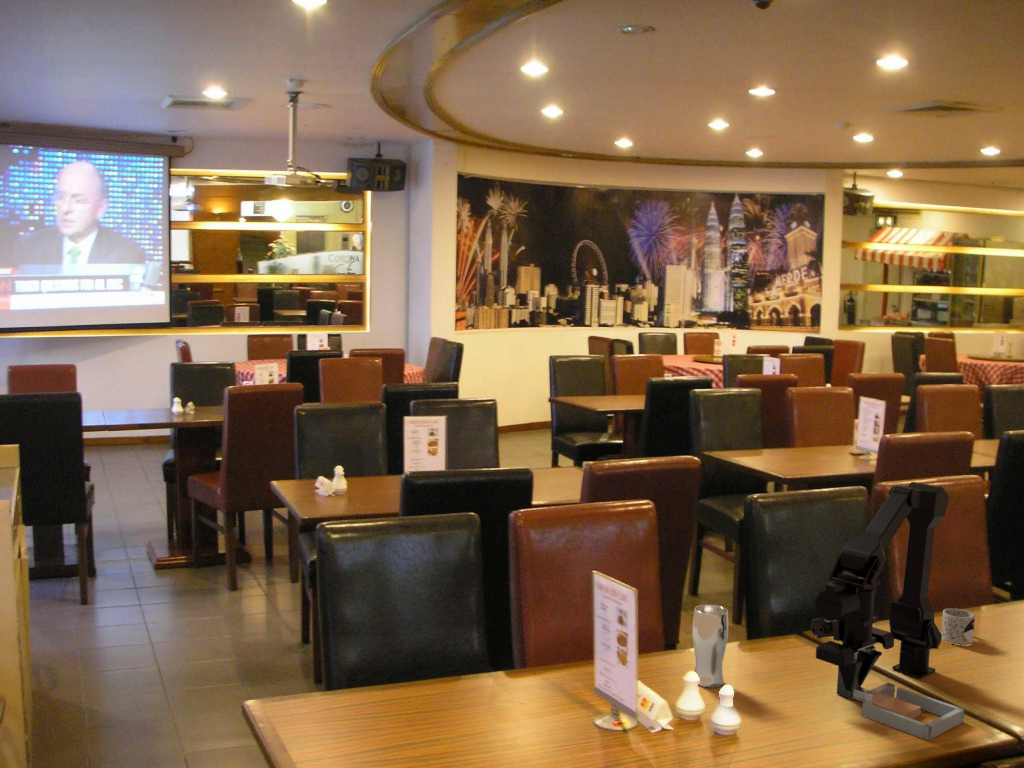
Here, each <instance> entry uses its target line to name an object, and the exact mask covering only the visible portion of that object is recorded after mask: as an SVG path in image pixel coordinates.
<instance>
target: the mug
mask: <svg viewBox="0 0 1024 768" xmlns="http://www.w3.org/2000/svg"><path fill="white" fill-rule="evenodd" d="M975 616H976V615H975V613H973V612H972V611H969V610H966V609H960V608H945V609H943V610H942V621H941V622H942V623H941V635H942V639H943V640H945V641H948V642H951V643H953V644H960V645H966V644H967V645H968V644H972V643H973V644H974V632H975V631H974V630H975V618H976V617H975Z"/></svg>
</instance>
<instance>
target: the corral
mask: <svg viewBox="0 0 1024 768" xmlns="http://www.w3.org/2000/svg"><path fill="white" fill-rule="evenodd" d="M895 694H896V695H895V696H896V697H895V698H897V699H900V700H903V701H905V702H908V703H911V704H914V705H917V706H920V707H921V711H922V710H923V711H926V712H929V713H931V714H934V715H936V716H940V717H937V718H935V719H934V720H932V721H930V722H928V723H924V722H921V721H919V720H916V719H915V718H913V719H911V718H908V717H905V716H903V715H900V714H897V713H894V712H892V711H889V710H886V709H883V708H881V707H878V706H875V705H872V704H869V703H867V702H865V703H863V702H862V713H861V714H862V715H861V716H862V717H864V716H865V718H866V719H869V720H872V721H875V722H878V723H881V724H882V725H886V726H888V727H891V728H894V729H896V730H899V731H902V732H904V733H907V734H910V735H913V736H914V737H917V738H920V739H923V740H926V741H930V740H932V739H934V738H936V737H937V736H939V735H942V734H943V733H945V732H947V731H949V730H952V729H953V728H955V727H956V726H959V725H960V724H962V723H964V722H965V710H966V709H965V708H963V707H960V706H956V705H954V704H953V705H952V704H950V703H947V702H944V701H941V700H938V699H936V698H932V697H930V696H927V695H924V694H920V693H917V692H915V691H912V690H909V689H905V688H903V687H897V688H896V692H895Z"/></svg>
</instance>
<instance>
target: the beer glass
mask: <svg viewBox="0 0 1024 768" xmlns="http://www.w3.org/2000/svg"><path fill="white" fill-rule="evenodd" d="M728 614H729V611H728V609H727V608H726V607H723V606H720V605H717V604H716V605H714V604H700V605H696V606H695V607H694V613H693V619H692V620H693V621H692V622H693V623H692V641H693V643H692V644H693V650H694V656H695V657H694V659H695V667H694V672H696V673H697V674H698V676H699V678H700V684H699V685H700V686H699V687H701V686H702V688H706V687H708V688H709V689H714V688H715V689H717V688H720V687H722V686H723V685H724V684H725V682H724V676H723V662H724V656H725V654H726V648H727V644H728V638H729V615H728ZM708 688H707V689H708Z"/></svg>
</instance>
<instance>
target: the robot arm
mask: <svg viewBox="0 0 1024 768" xmlns="http://www.w3.org/2000/svg"><path fill="white" fill-rule="evenodd" d="M949 502H950V497H949V494H948V492H946V489H945V487H943V486H942V485H941V486H939V485H934V484H929V483H923V482H916V481H911V482H910V483H909V484H908V485H900V484H898V485H893V486H892V487H890V489H889V492H888V497H887V498H886V500H885V501H884V502H883V504H882V506H880V509H879V510H878V511H877V512H876V514H875V516H874V518H872V519H871V521H870V523H869V525H868V526H867V527H866V529H865V531H864V532H862V533H861V534H859V535H857V536H855V537H853V538H851V539H850V540H849V541H848V542H847V543H846V544H845V545H844V546H843V548H842V549H841V551H839V553H838V556H837V558H836V560H835V562H834V564H833V567H832V569H831V573H830V574H829V577H828V580H829V581H831V582H828V583H826V585H825V590H822V591H820V592H819V594H818V595H817V596H816V599H815V609H816V611H817V613H818V614H819V616H820V618H819V617H816V618H814V619H812V620H811V625H810V629H809V630H810V632H811V633H812V635H813V636H816V639H817V640H818V639H819V640H820V639H822V638H830V637H832V638H833V641H831V640H829V641H826V642H823V643H820V644H818V645H817V647H816V646H815V659H817V660H819V661H823V662H826V663H829V664H831V665H834V666H837V667H839V669H840V672H841V676H842V679H843V683H844V686H845V689H846V690H848V691H851V690H852V688H853V686H854V683H855V681H856V678H857V675H858V672H859V670H860V667H861V671H860V685H859V686H860V687H862V685H863V683H864V682H865V680H866V679H867V677H868V675H869V673H870V672H871V670H872V669H873V667H874V665H875V664H876V662H877V661H878V660H879V658H880V656H882V655H883V653H882V651H879V650H877V649H876V648H877V647H876V646H875V645H876V644H877V643H878V644H881V646H882V648H883V649H884V650H889V649H892V648H894V646H895V640H898V641H900V646H899V647H900V648H899V661H898V663H897V664H895V665H892V666H891V667H892V668H891V669H892V670H894V671H898V672H901V673H903V674H906V675H909V676H912V677H916V678H919V679H921V678H924V677H926V676H929V675H930V674H933V673H935V672H936V668H934V667H931V666H930V654H931V653H930V652H931V651H930V650H934V649H935V650H938V649H939V646H940V645H941V642H942V640H941V639H942V632H941V631H940V630H939V628H938V626H937V624H936V622H935V610H934V607H933V605H932V603H931V601H930V599H929V585H930V578H931V568H932V558H933V549H934V540H935V530H936V527H937V526H938V525H939V524H940V522H941V521H942V520H943V519H944V518H945V516H946V512H947V508H948V506H949ZM906 520H907V523H908V524H909V525H908V526H909V529H908V535H907V547H906V554H905V555H906V558H905V565H904V576H903V583H902V584H903V585H902V592H901V595H899V597H898V598H897V599H896V601H895V600H894V601H892V602H891V604H890V613H889V616H888V617H889V618H888V623H889V631H888V630H884V629H881V628H878V627H874V626H873V624H876V623H878V616H875V615H874V605H875V588H876V587H878V586H880V584H881V582H880V580H878V578H879V576H880V574H881V573H882V571H883V570H884V566H885V563H886V562H887V558H886V550H887V548H888V546H889V545H890V543H891V541H892V540H893V538H894V537H895V536H896V534H897V532H898V531H899V529H900V528H901V526H902V525H903V523H904V521H906ZM835 641H837V642H835ZM839 642H841V643H842V644H841V643H839Z"/></svg>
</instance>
